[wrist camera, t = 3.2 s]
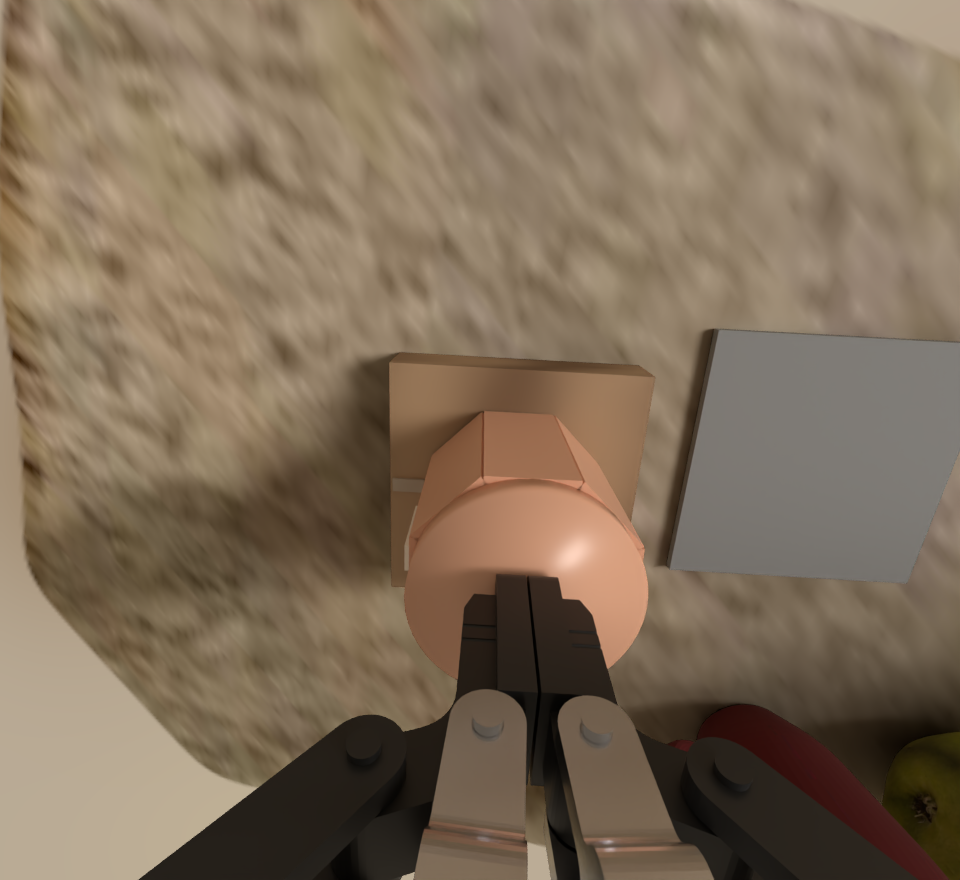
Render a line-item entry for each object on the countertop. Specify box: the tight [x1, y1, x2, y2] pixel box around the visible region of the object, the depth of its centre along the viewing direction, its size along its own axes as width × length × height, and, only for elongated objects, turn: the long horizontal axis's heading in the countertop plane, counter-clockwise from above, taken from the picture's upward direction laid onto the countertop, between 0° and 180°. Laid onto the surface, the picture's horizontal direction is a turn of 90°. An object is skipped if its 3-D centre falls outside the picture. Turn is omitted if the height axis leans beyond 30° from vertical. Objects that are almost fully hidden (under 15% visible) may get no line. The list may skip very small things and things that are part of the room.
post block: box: [389, 352, 655, 587], centre depth 17 cm, size 9×9×7 cm
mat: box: [667, 329, 960, 583], centre depth 20 cm, size 10×10×1 cm
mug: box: [667, 705, 949, 880], centre depth 20 cm, size 10×8×10 cm
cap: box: [404, 411, 648, 680], centre depth 15 cm, size 6×6×6 cm
